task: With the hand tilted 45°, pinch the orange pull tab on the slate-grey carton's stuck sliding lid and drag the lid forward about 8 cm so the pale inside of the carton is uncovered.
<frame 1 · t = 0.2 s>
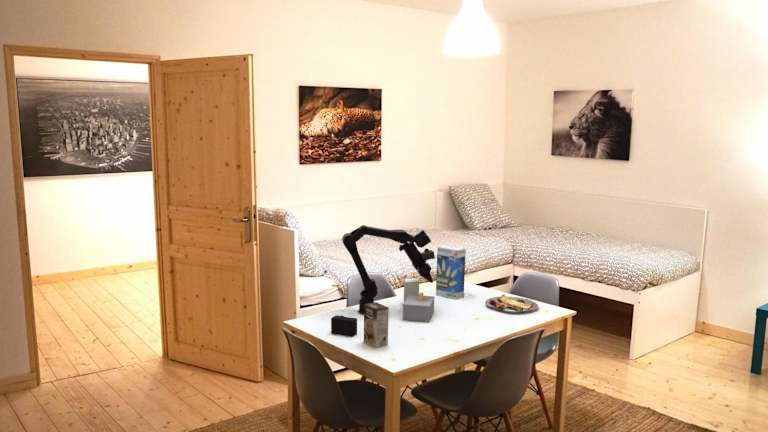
hand: (430, 280, 308), 15 cm above the table, tool tilted 35°, fingers open, 9 cm apart
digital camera: (344, 333, 276), on the table
coffee box: (375, 344, 264), on the table
lid: (419, 297, 299), point 9 cm above the table, slide at 0.0 cm
food plate: (511, 307, 317), on the table
carton: (418, 316, 301), on the table
string lights box: (450, 296, 336), on the table
supplement box: (411, 305, 319), on the table
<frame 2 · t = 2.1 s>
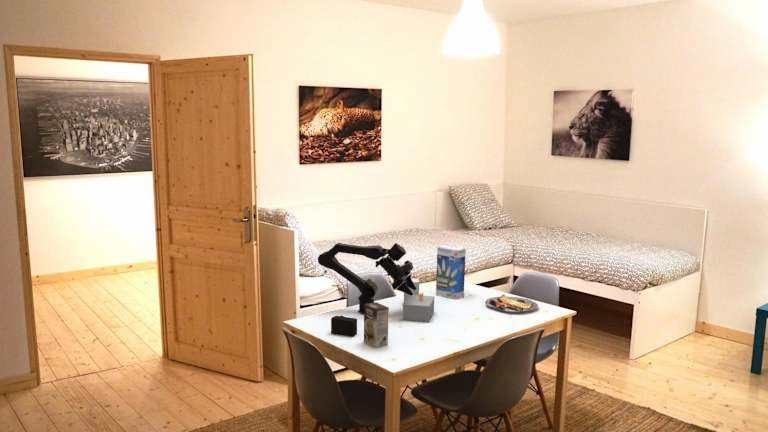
hand: (414, 292, 299), 11 cm above the table, tool tilted 45°, fingers open, 9 cm apart
nothing on the table moved.
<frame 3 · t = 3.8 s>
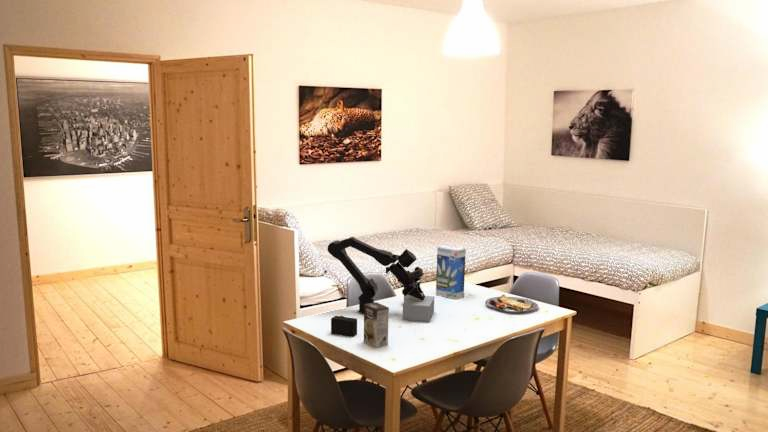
hand: (424, 298, 299), 9 cm above the table, tool tilted 45°, fingers closed on lid, 3 cm apart
lid: (419, 297, 299), point 9 cm above the table, slide at 0.0 cm, touching gripper
everything else where it was.
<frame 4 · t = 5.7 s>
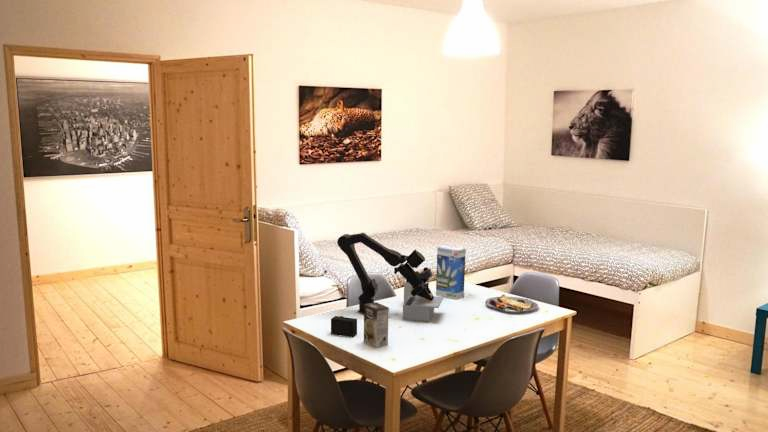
hand: (432, 299, 298), 9 cm above the table, tool tilted 45°, fingers closed on lid, 3 cm apart
lid: (427, 298, 298), point 9 cm above the table, slide at 4.0 cm, touching gripper
everything else where it was.
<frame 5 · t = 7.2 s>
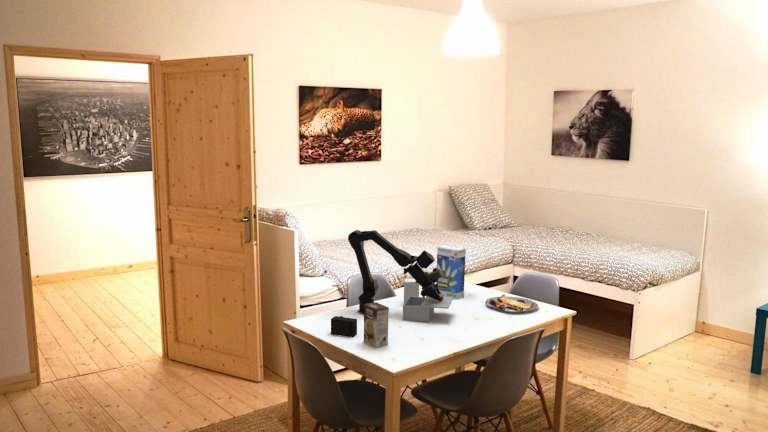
hand: (442, 300, 297), 9 cm above the table, tool tilted 45°, fingers closed on lid, 3 cm apart
lid: (437, 298, 297), point 9 cm above the table, slide at 8.5 cm, touching gripper
everything else where it was.
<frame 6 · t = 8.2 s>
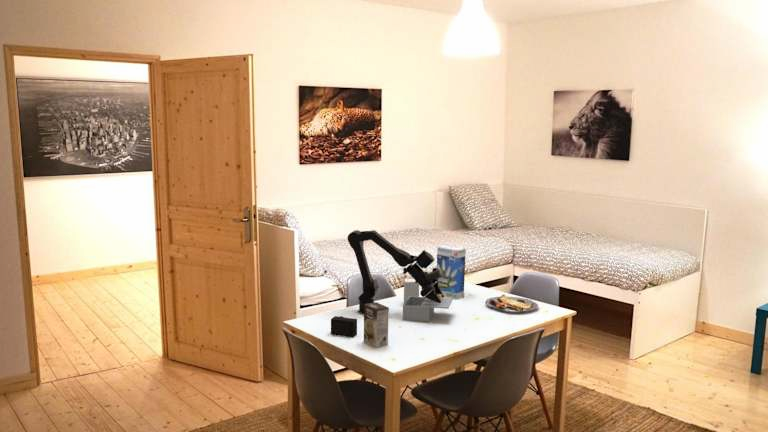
hand: (442, 299, 297), 9 cm above the table, tool tilted 45°, fingers open, 9 cm apart
lid: (437, 298, 297), point 9 cm above the table, slide at 8.5 cm
everything else where it was.
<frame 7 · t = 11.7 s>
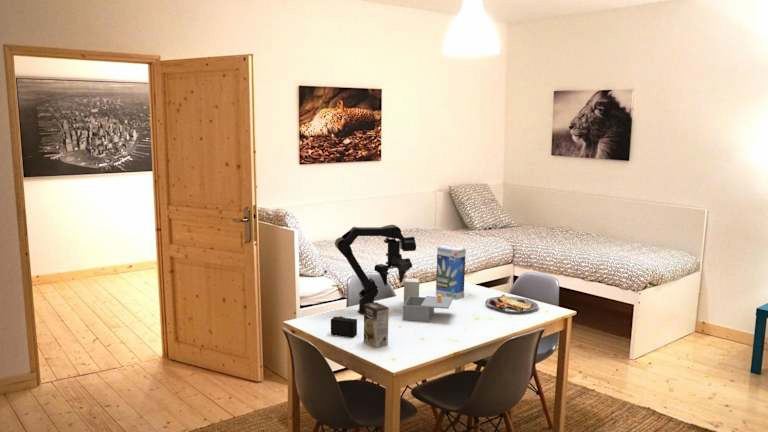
hand: (393, 284, 307), 13 cm above the table, tool pointing down, fingers open, 9 cm apart
at the end: lid slide at 8.5 cm; supplement box moved 0.3 cm from its start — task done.
